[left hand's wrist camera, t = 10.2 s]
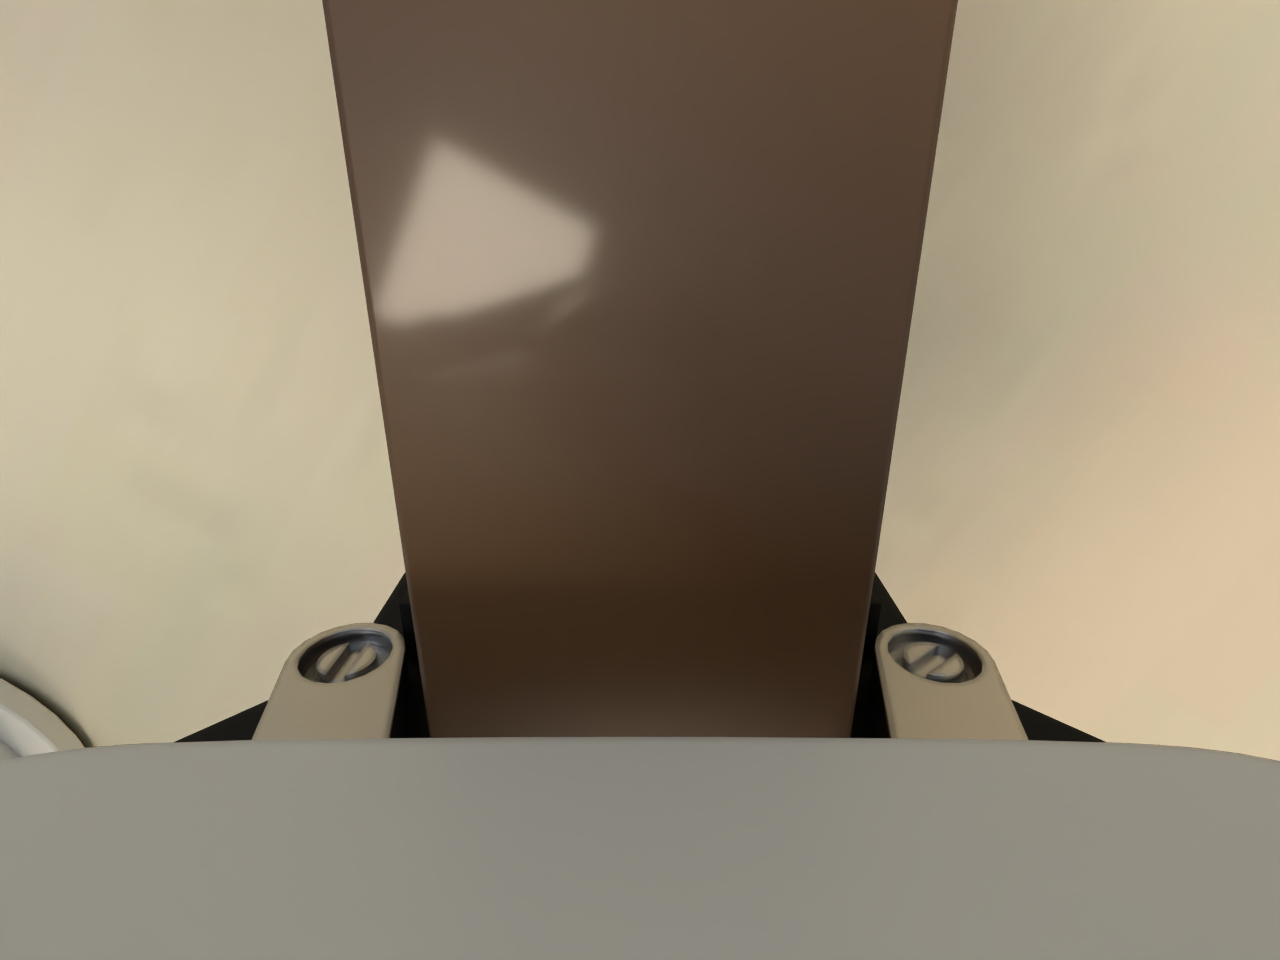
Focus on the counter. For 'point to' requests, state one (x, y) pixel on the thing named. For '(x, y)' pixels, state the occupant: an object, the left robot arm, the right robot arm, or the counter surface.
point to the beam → (640, 343)
